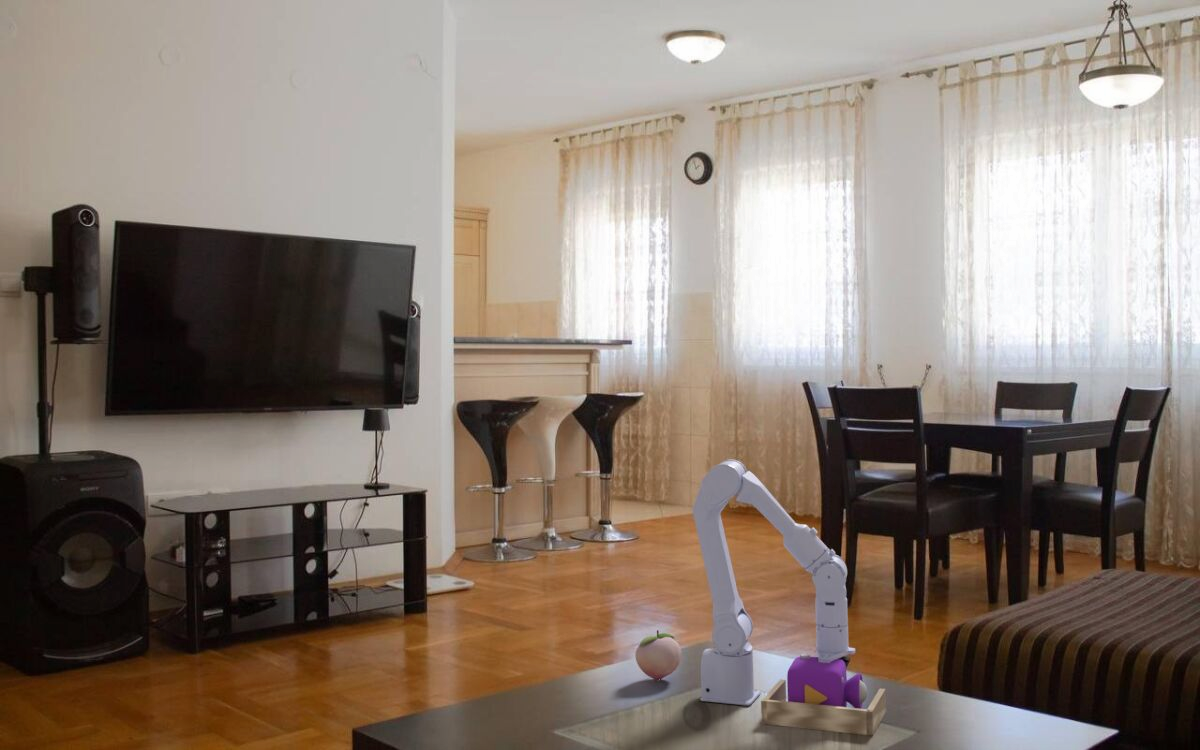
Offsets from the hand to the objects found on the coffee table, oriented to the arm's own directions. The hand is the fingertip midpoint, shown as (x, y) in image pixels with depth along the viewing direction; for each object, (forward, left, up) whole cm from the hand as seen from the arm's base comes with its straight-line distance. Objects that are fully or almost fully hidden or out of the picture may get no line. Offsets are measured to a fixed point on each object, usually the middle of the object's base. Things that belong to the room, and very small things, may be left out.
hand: (834, 698), depth 202 cm
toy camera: (0, -7, -1) cm, 7 cm away
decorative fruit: (-35, +4, -1) cm, 35 cm away
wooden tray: (0, -8, -1) cm, 8 cm away
